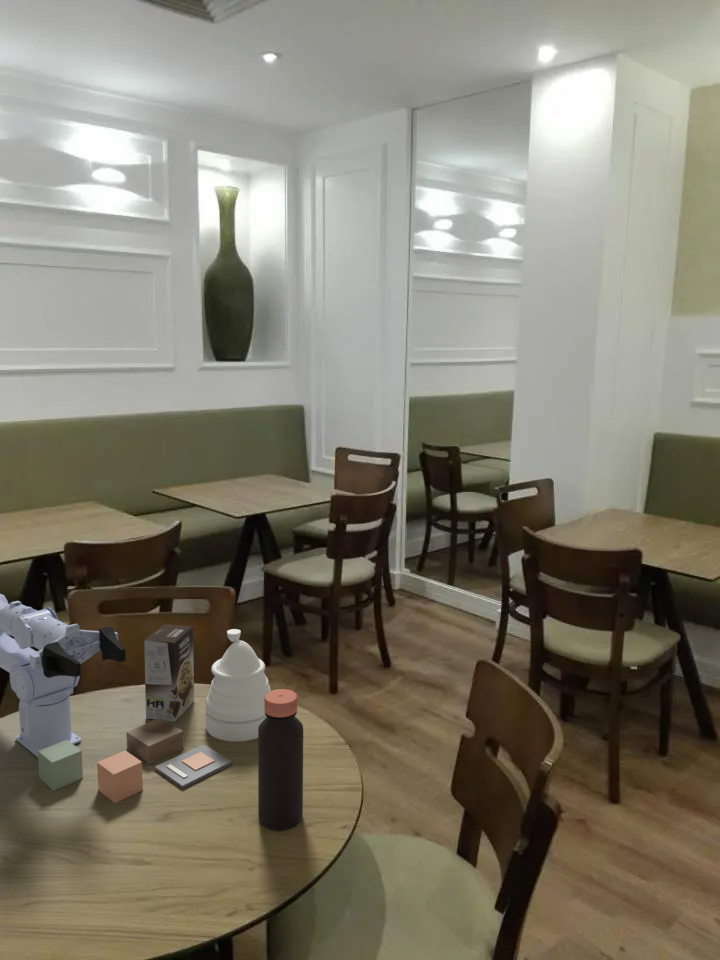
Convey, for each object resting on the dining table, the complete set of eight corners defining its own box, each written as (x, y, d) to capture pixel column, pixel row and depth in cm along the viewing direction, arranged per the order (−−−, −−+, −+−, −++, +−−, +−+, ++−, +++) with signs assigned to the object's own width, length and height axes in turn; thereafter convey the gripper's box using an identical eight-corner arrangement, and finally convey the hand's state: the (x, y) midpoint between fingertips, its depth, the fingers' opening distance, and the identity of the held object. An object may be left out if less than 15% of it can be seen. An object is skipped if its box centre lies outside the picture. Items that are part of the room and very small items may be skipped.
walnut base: (127, 750, 133) (126, 732, 133) (160, 735, 138) (160, 717, 138) (149, 764, 129) (148, 746, 128) (183, 748, 134) (183, 730, 133)
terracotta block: (98, 790, 121) (97, 762, 120) (126, 777, 124) (125, 750, 123) (114, 803, 117) (113, 774, 117) (142, 790, 121) (141, 761, 120)
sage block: (39, 778, 124) (37, 751, 123) (68, 766, 127) (66, 739, 126) (53, 791, 120) (52, 762, 119) (82, 778, 124) (81, 750, 123)
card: (154, 769, 127) (154, 765, 127) (203, 747, 134) (203, 743, 134) (182, 789, 121) (182, 784, 121) (231, 764, 129) (231, 760, 129)
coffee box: (176, 723, 142) (174, 643, 140) (144, 719, 144) (142, 639, 141) (195, 701, 151) (194, 625, 148) (166, 697, 152) (164, 622, 150)
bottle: (309, 809, 117) (310, 690, 113) (291, 836, 110) (292, 710, 107) (270, 800, 119) (270, 682, 115) (250, 825, 113) (249, 702, 109)
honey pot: (193, 721, 143) (191, 632, 140) (249, 701, 152) (248, 617, 148) (229, 749, 134) (228, 654, 131) (287, 726, 142) (288, 636, 139)
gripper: (15, 629, 121) (55, 651, 112) (98, 607, 132) (140, 626, 123) (18, 670, 122) (58, 695, 113) (100, 645, 133) (142, 666, 124)
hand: (101, 662), depth 118 cm, fingers open, 7 cm apart
